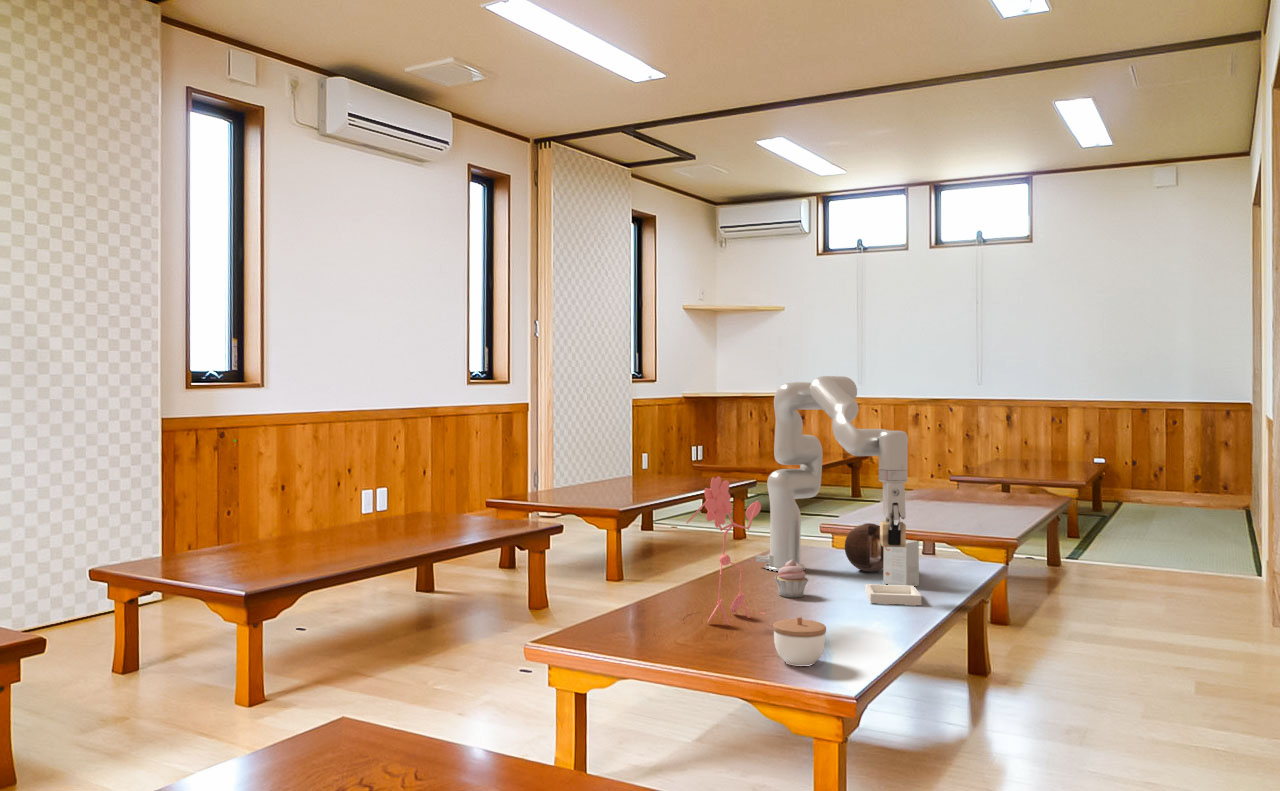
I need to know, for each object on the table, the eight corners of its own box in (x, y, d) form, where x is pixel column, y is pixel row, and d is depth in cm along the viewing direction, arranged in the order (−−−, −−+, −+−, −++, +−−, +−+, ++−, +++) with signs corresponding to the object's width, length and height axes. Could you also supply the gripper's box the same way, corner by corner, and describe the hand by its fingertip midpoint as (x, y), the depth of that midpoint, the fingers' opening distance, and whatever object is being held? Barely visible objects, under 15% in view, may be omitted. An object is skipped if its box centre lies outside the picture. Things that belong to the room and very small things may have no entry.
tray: (870, 603, 244) (870, 593, 244) (865, 593, 257) (865, 584, 257) (921, 605, 242) (921, 595, 242) (913, 595, 255) (913, 585, 255)
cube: (882, 546, 247) (882, 524, 247) (879, 543, 253) (879, 521, 253) (905, 547, 246) (905, 524, 246) (902, 543, 252) (902, 521, 252)
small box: (919, 586, 267) (919, 541, 267) (906, 588, 263) (906, 543, 263) (895, 581, 274) (895, 537, 274) (882, 584, 270) (882, 539, 269)
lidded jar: (767, 667, 186) (768, 620, 186) (779, 653, 196) (779, 609, 196) (821, 673, 183) (821, 625, 183) (829, 658, 193) (830, 613, 193)
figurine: (770, 613, 232) (768, 474, 233) (712, 633, 212) (710, 481, 212) (719, 605, 242) (717, 472, 242) (659, 624, 222) (657, 479, 222)
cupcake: (793, 601, 246) (793, 563, 246) (767, 595, 254) (767, 558, 254) (815, 596, 252) (816, 560, 252) (789, 590, 260) (790, 555, 260)
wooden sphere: (847, 565, 299) (847, 519, 299) (895, 568, 294) (895, 521, 294) (841, 573, 285) (841, 525, 285) (891, 577, 280) (892, 528, 280)
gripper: (912, 479, 240) (911, 548, 240) (902, 473, 257) (902, 538, 257) (882, 478, 241) (882, 547, 241) (875, 473, 258) (874, 537, 258)
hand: (892, 542), depth 249 cm, fingers closed on cube, 6 cm apart
